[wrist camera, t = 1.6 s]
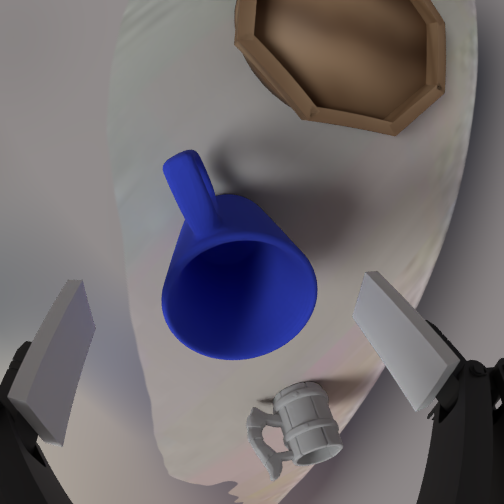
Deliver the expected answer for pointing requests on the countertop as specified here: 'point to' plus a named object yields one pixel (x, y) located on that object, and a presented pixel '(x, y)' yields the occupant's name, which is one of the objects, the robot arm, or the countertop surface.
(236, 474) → the countertop surface
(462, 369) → the robot arm
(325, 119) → the octagonal wooden tray
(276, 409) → the mug
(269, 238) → the mug
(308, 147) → the countertop surface
